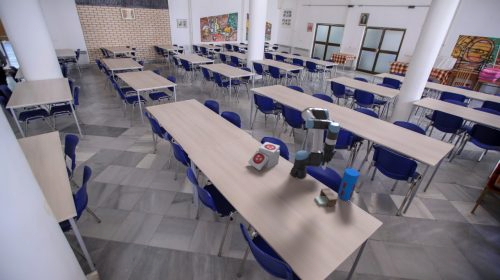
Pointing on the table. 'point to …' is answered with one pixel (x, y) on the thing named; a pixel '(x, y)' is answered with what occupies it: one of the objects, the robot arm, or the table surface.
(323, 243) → the table surface
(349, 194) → the thermos
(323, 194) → the tan notched block
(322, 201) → the board
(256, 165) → the pizza boxes
